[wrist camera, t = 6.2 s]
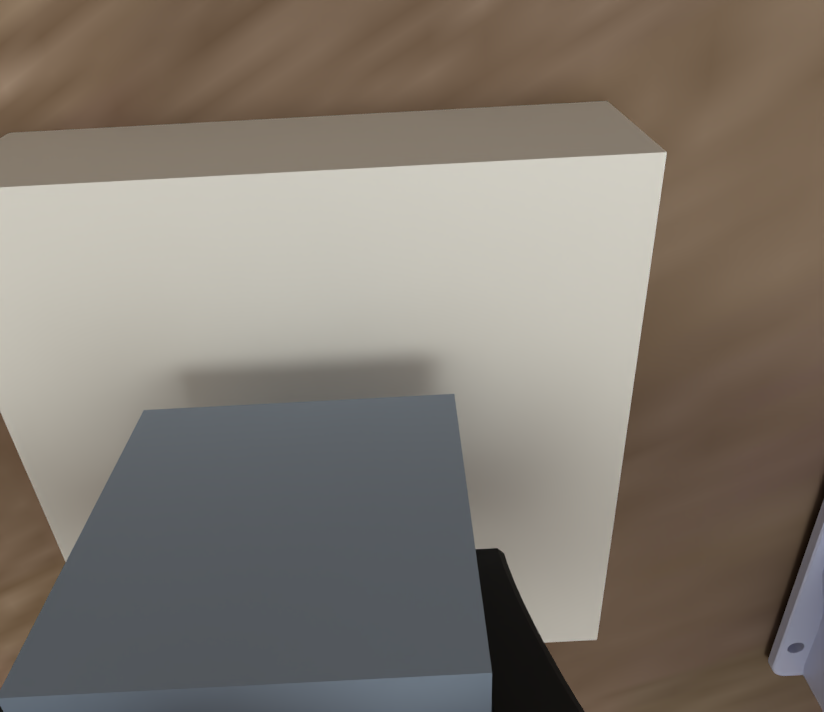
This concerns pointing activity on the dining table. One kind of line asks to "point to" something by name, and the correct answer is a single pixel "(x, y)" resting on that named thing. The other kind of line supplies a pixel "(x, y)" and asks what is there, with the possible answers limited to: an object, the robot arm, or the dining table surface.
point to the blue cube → (271, 569)
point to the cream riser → (344, 301)
